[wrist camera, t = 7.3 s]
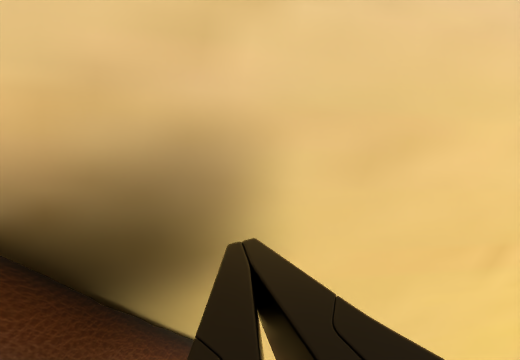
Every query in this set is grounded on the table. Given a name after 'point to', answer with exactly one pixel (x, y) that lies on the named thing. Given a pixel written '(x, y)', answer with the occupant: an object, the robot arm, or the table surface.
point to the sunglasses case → (73, 324)
